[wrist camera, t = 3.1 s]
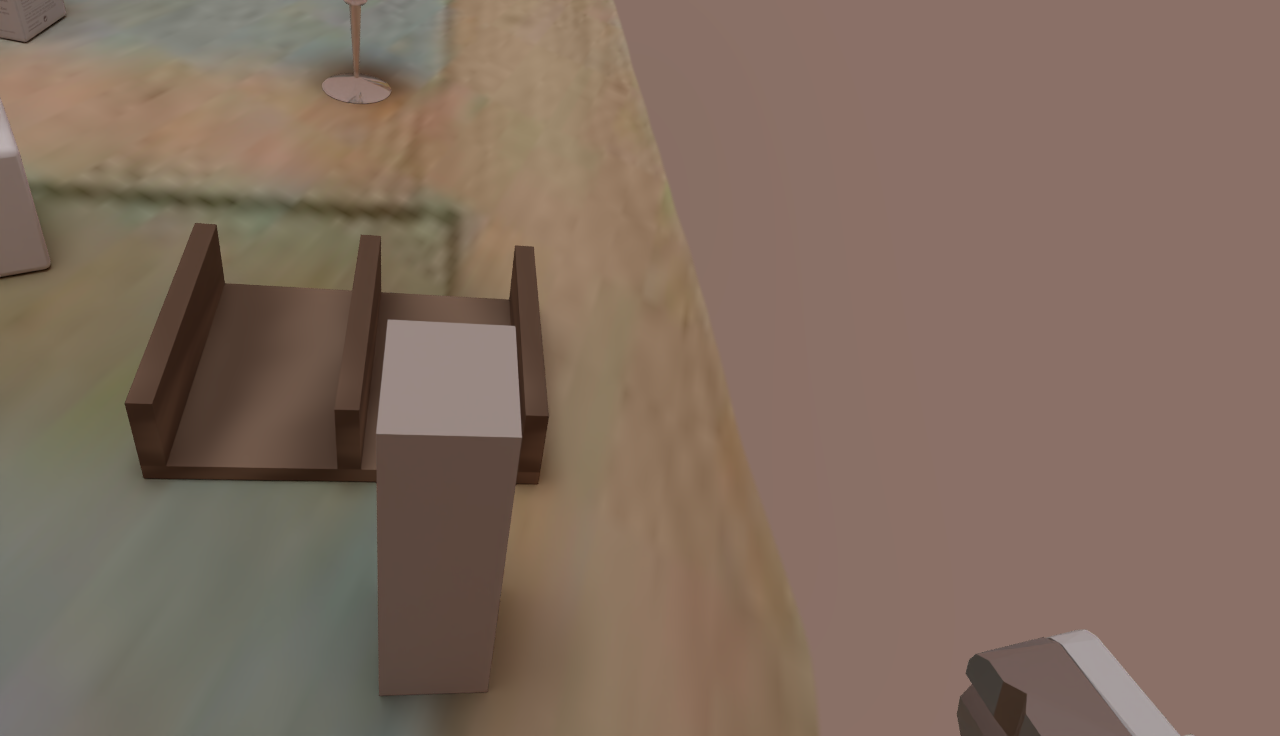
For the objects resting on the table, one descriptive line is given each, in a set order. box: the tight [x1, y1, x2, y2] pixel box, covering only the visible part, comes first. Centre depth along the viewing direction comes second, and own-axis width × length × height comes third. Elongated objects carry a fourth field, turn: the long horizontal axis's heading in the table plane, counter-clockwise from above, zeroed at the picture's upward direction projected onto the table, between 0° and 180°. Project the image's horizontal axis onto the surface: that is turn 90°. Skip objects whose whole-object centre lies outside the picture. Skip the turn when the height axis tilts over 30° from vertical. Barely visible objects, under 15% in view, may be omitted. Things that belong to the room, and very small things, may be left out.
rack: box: [125, 223, 549, 484], centre depth 45 cm, size 17×13×4 cm
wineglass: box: [322, 0, 391, 103], centre depth 66 cm, size 7×7×12 cm
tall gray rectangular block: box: [376, 320, 522, 696], centre depth 32 cm, size 4×5×14 cm
